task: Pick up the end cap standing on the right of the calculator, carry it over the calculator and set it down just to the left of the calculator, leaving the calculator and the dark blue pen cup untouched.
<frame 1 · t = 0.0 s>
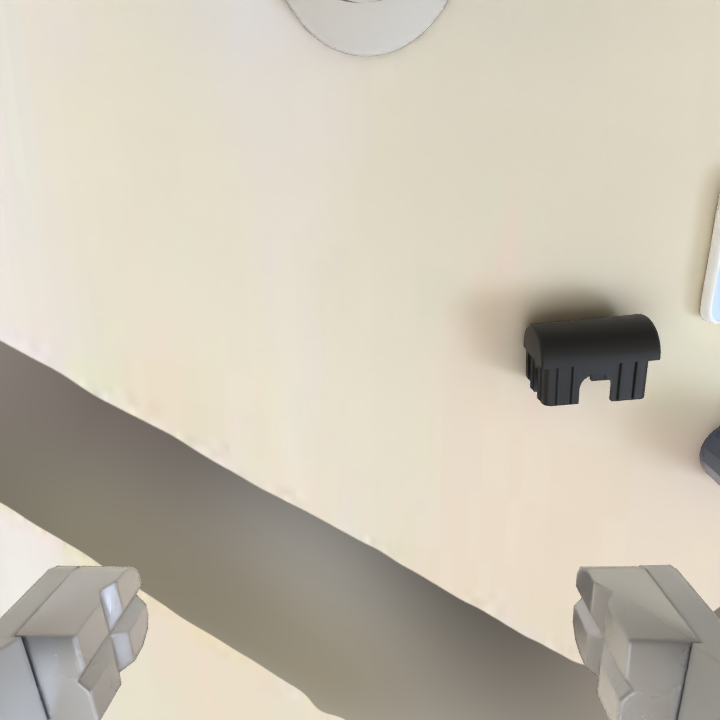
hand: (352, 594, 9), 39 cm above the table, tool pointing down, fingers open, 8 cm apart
end cap: (571, 342, 47), on the table
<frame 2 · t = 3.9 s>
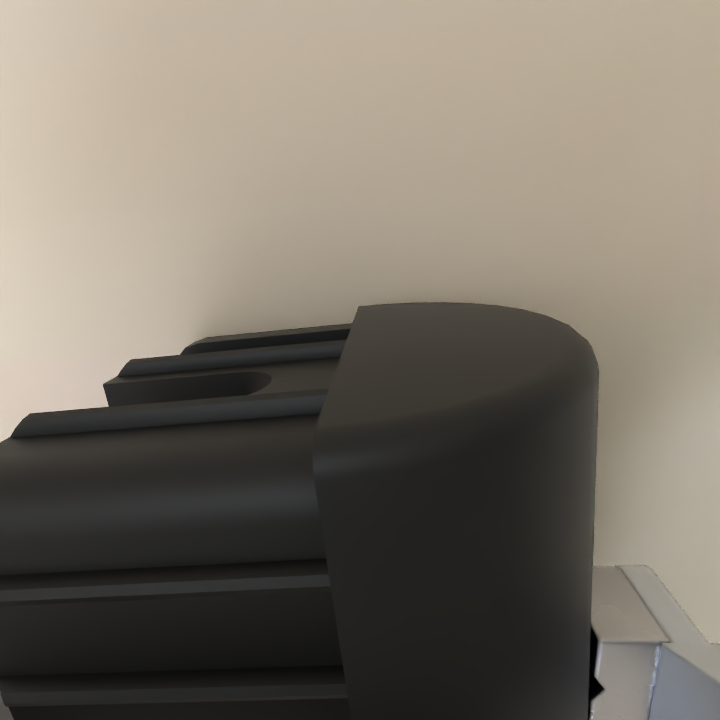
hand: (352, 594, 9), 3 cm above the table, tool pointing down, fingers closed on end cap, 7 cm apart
end cap: (364, 500, 11), on the table, touching gripper
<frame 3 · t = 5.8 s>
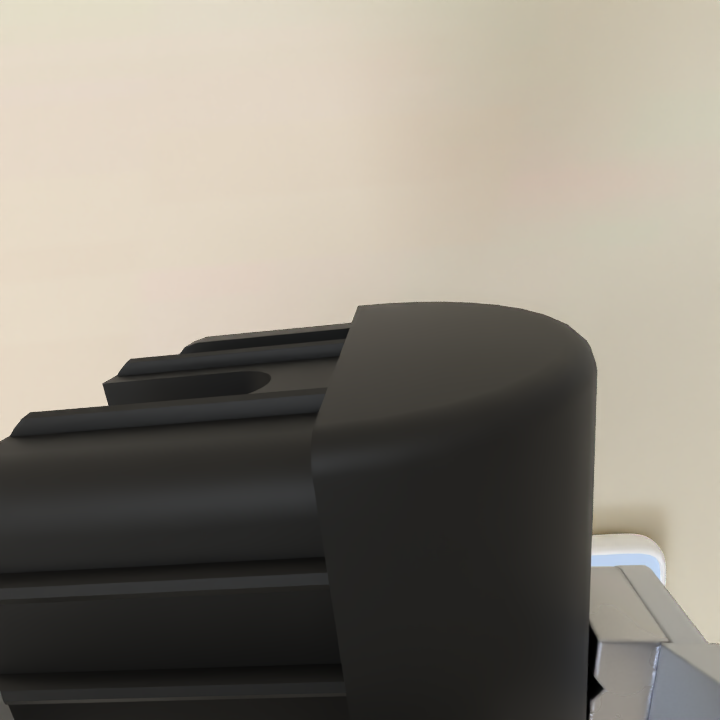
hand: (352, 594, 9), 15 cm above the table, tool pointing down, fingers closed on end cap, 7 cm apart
calculator: (526, 673, 28), on the table
end cap: (364, 499, 12), point 12 cm above the table, touching gripper
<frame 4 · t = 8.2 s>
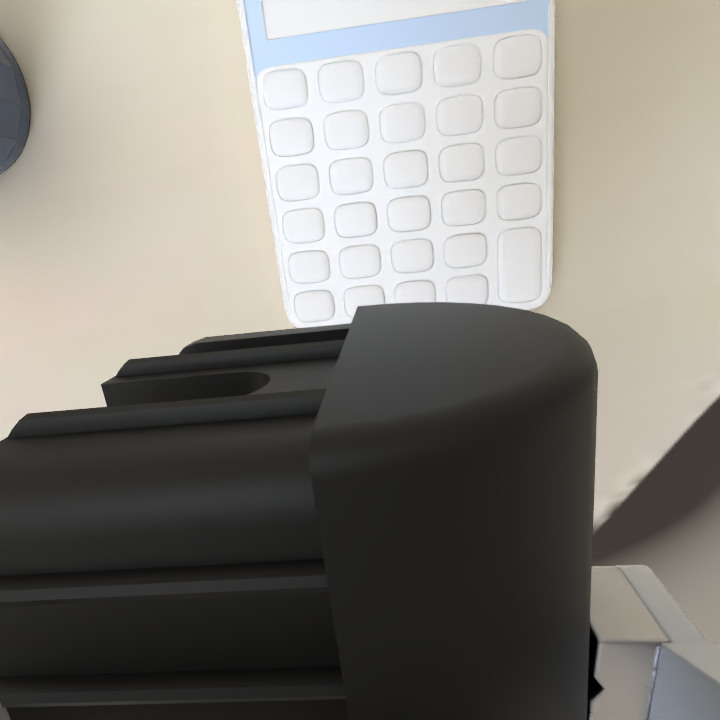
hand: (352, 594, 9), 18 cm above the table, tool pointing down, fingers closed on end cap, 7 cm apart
calculator: (399, 109, 22), on the table
end cap: (363, 500, 11), point 15 cm above the table, touching gripper
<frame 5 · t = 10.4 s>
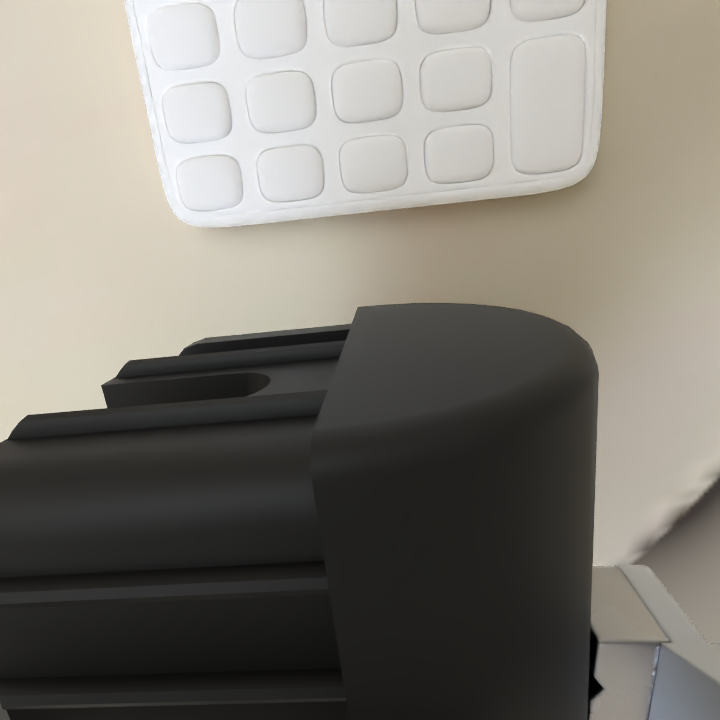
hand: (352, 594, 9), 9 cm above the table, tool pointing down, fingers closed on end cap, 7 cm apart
end cap: (364, 501, 11), point 6 cm above the table, touching gripper
when the fingers open (3 cm above the table, at t = 12.6 s): end cap stays where it is, on the table.
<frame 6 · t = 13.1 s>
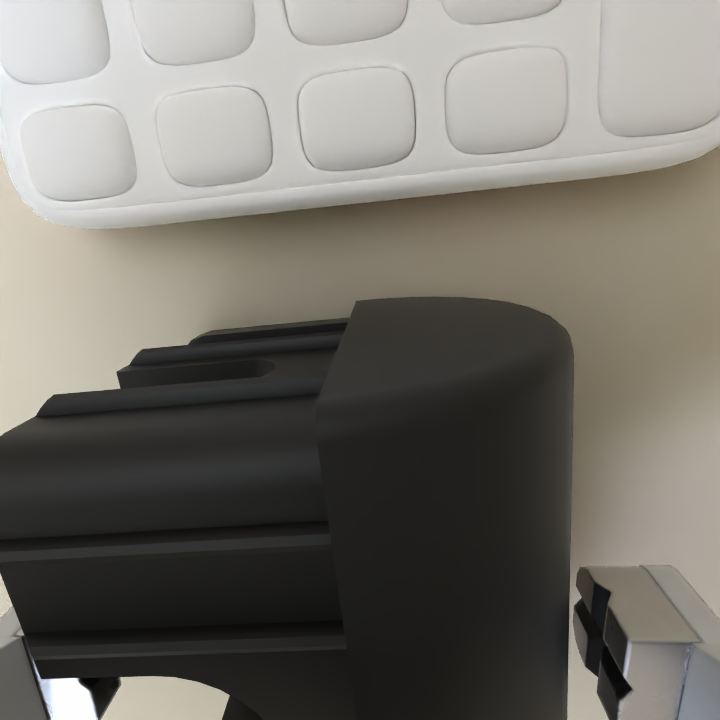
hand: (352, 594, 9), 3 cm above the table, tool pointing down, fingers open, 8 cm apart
end cap: (361, 488, 12), on the table
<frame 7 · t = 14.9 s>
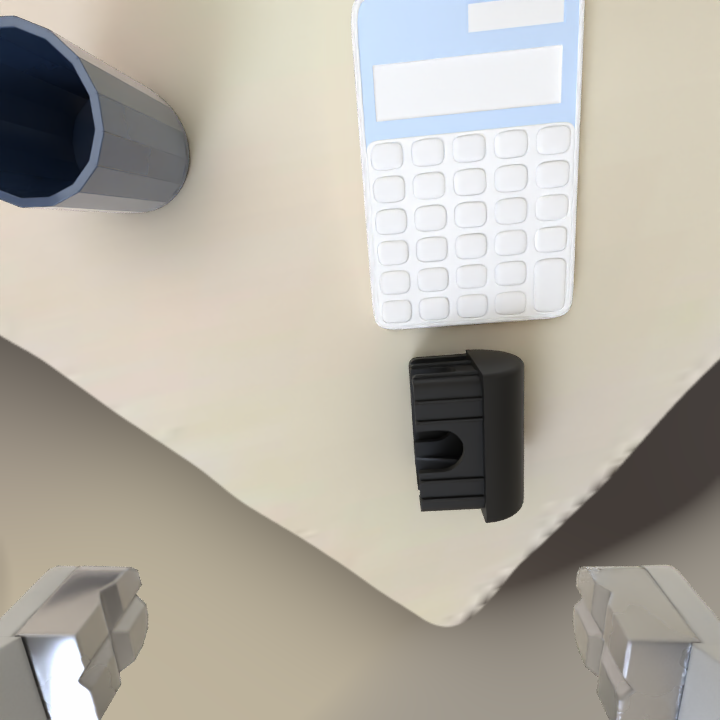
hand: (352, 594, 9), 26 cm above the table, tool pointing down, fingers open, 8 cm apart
pen cup: (130, 150, 31), on the table
calculator: (464, 169, 30), on the table
end cap: (459, 410, 35), on the table
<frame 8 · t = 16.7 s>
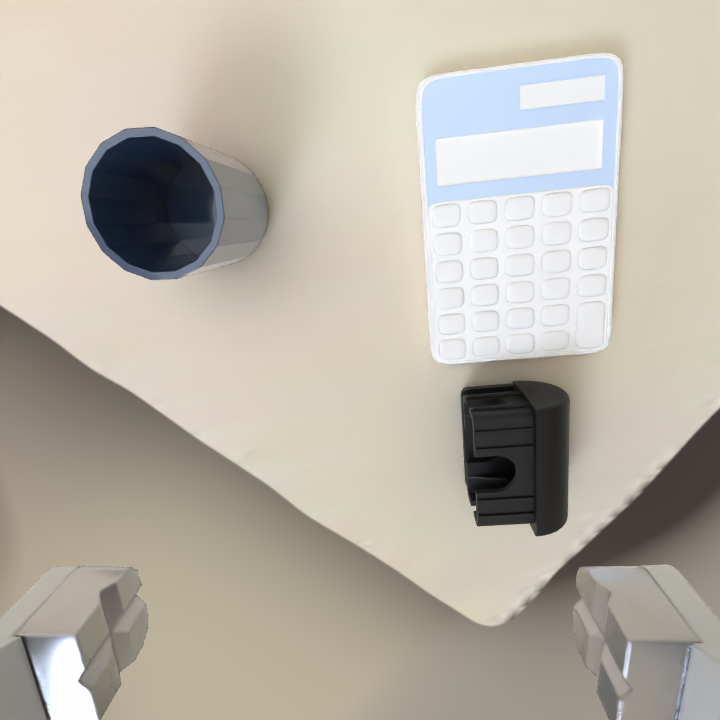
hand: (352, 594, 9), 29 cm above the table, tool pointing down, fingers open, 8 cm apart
pen cup: (216, 211, 35), on the table
calculator: (513, 223, 34), on the table
end cap: (505, 433, 39), on the table
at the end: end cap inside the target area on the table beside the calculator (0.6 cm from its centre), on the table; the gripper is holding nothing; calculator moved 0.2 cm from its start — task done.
